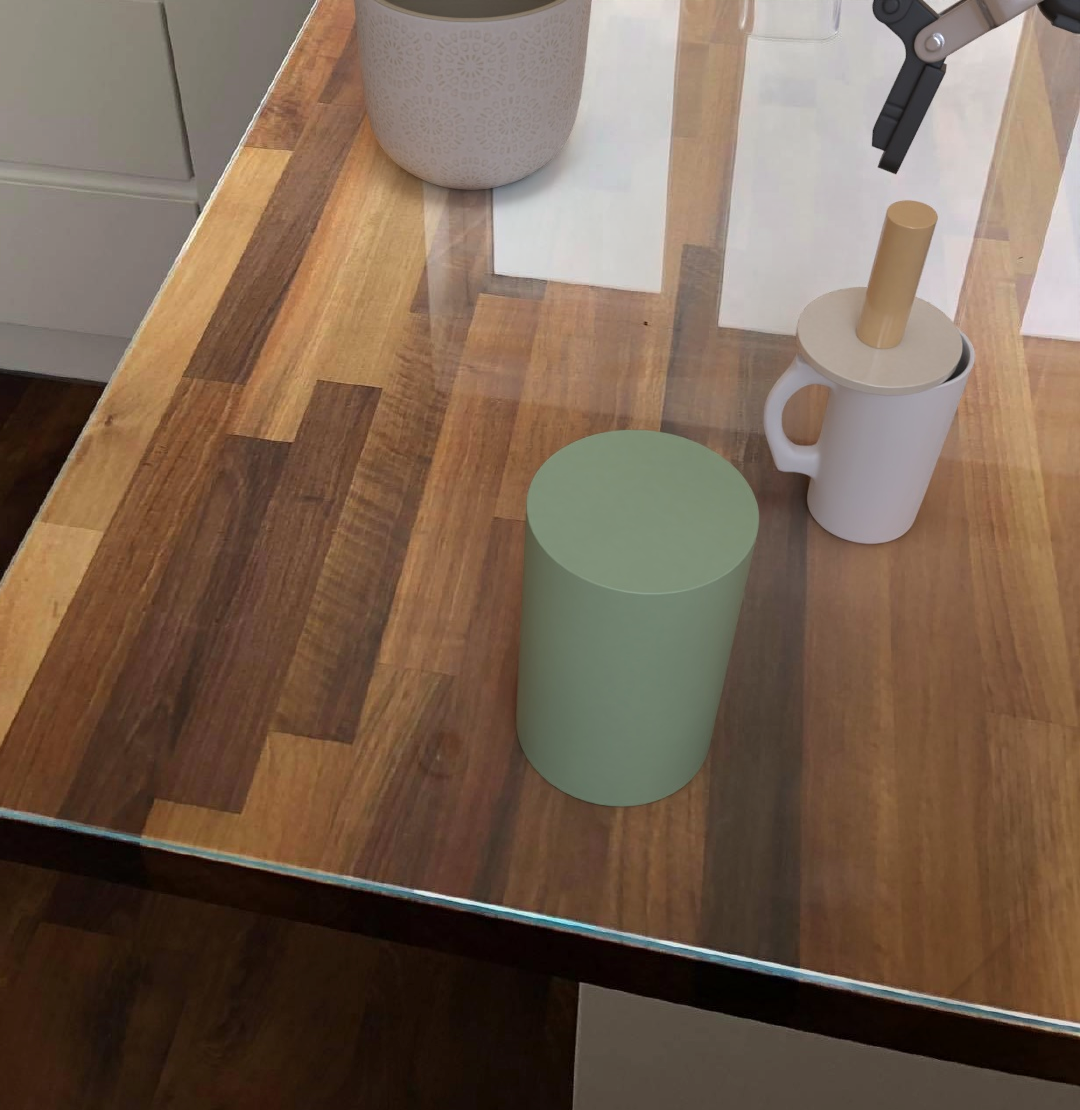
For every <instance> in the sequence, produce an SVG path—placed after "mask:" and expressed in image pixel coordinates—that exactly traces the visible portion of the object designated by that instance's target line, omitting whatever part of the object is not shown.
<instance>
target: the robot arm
mask: <svg viewBox="0 0 1080 1110" xmlns="http://www.w3.org/2000/svg"><path fill="white" fill-rule="evenodd" d="M871 6H872V7H871V9H872V14H873V17H875V19H876V20H877V21H878V22H879V23H881V24H884V25H885V26H886V27H887V28H888V29H889V30H890V31H891V32H892V33H894V34H895V35H896V36H897V37H898V38H899V39H900V40H901V42H902V44H903V46H904V50H905V58H904V60H903V63H902V65H901V67H900V68H899V71H898V74H897V76H896V78H895V80H894V82H893V84H892V86H891V89H890V90H889V93H888V95H887V97H886V99H885V101H884V103H883V105H882V108H881V110H880V112H879V114H878V117H877V119H876V121H875V122H874V126H873V128H872V133H871V137H872V138H871V147H873V148H876V149H878V150H880V151H883V152H882V154H881V156H880V159H879V162H878V165H877V168H878V169H880V170H883V171H886V172H889V173H891V174H893V175H897V174H898V172H899V170H900V168H901V166H902V164H903V162H904V160H905V158H906V156H907V154H908V152H909V150H910V148H911V145H912V144H913V142H914V139H915V137H916V135H917V133H918V131H919V129H920V127H921V125H922V122H923V120H924V118H925V116H926V115H927V113H928V111H929V109H930V106H931V104H932V102H933V100H934V98H935V96H936V94H937V92H938V89H939V88H940V85H941V84H942V81H943V79H944V78H945V75H946V74H947V66H948V64H947V63H945V62H946V59H947V58H948V57H949V56H950V55H952V54H953V53H956V52H957V51H958V50H960V49H962V48H963V47H965V46H967V45H969V44H970V43H972V42H974V41H976V40H977V39H979V38H980V37H982V36H984V35H985V34H987V33H988V32H990V31H993V30H995V29H997V28H999V27H1001V26H1004V24H1007V23H1008V22H1010V21H1012V20H1013V19H1015V18H1016V17H1018V16H1020V15H1021V14H1023V13H1025V12H1026V11H1028V10H1030V9H1031V8H1033V7H1034V6H1037V8H1038V10H1039V11H1040V13H1041V14H1042V16H1043V17H1044V19H1046V20H1047V21H1049V23H1050V25H1051V27H1056V28H1058V29H1060V30H1064V31H1067V32H1069V33H1072V34H1075V35H1080V0H958V1H956V2H955V3H952V4H951V5H949V6H948V7H946V8H945V9H943V10H942V11H940V12H937V11H935V9H934V8H932V7H931V6H930V4H928V3H927V2H926V1H924V0H872V4H871Z"/></svg>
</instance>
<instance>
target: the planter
mask: <svg viewBox="0 0 1080 1110" xmlns="http://www.w3.org/2000/svg"><path fill="white" fill-rule="evenodd" d="M592 3H593V0H353V7H354V16H355V28H356V36H357V38H356V39H357V51H358V60H359V69H360V71H359V72H360V80H361V86H362V87H361V88H362V94H363V101H364V105H365V109H366V114H367V117H368V122H369V126H370V129H371V131H372V133H373V135H374V138H375V139H376V142H377V144H378V145H379V146H380V148H381V149H382V150H383V152H384V153H385V154H386V155H387V157H388V158H390V159H391V160H392V161H393V162H394V163H395V165H398V166H399V167H400V168H401V169H403V170H404V171H405V172H407V173H409V174H410V175H412V176H414V177H416V178H418V179H420V180H422V181H424V182H427V183H430V184H433V185H435V186H439V187H442V188H449V189H454V190H467V191H468V190H470V191H472V190H473V191H476V190H486V189H487V190H488V189H493V188H494V189H495V188H499V187H502V186H507V185H509V184H512V183H515V182H517V181H520V180H522V179H524V178H526V177H529V176H530V175H532V174H533V173H535V172H536V171H538V170H539V169H541V168H543V167H544V166H545V165H546V164H547V163H549V161H551V160H552V159H554V157H555V156H557V154H558V153H559V152H560V151H561V150H562V148H563V146H564V145H565V144H566V142H567V140H568V139H569V138H570V135H571V133H572V131H573V128H574V126H575V122H576V120H577V117H578V113H579V107H580V103H581V98H582V93H583V85H584V77H585V70H586V62H587V54H588V44H589V43H588V41H589V32H590V31H589V30H590V24H591V23H590V22H591V13H592Z"/></svg>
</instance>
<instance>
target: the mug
mask: <svg viewBox="0 0 1080 1110" xmlns="http://www.w3.org/2000/svg"><path fill="white" fill-rule="evenodd" d="M956 327H957V329H958V331H959V333H960V336H961V338H962V345H963V348H962V355H961V358H960V361H959V364H958V366H957V368H956V370H955V372H954V373H953V374H952V375H951V376H950V377H949V378H948V379H947V380H946V381H944V382H943V383H941V384H940V385H938V386H936V387H934V388H931V389H929V390H926V391H923V392H919V393H914V394H909V395H876V394H870V393H864V392H860V391H856V390H853V389H850V388H847V387H844V386H841V385H839V384H837V383H835V382H833V381H831V380H829V379H827V378H825V377H824V376H822V375H821V374H820V373H818V372H817V371H816V370H815V369H813V368H812V367H811V366H810V365H809V364H808V363H807V362H806V360H805V359H804V358H803V356H802V355H801V353H800V352H798V353H796V354H795V356H794V357H793V360H792V362H791V364H790V365H789V366H788V367H787V368H786V369H785V371H783V373H782V374H781V375H780V377H779V378H778V379H777V381H776V382H775V383H774V385H773V386H772V387H771V389H770V391H769V393H768V394H767V397H766V398H765V403H764V405H763V406H764V407H763V412H762V423H763V431H764V435H765V438H766V441H767V443H768V444H767V445H768V447H769V450H770V453H771V456H772V460H773V463H774V465H775V467H776V469H777V470H778V471H780V472H784V473H799V474H803V475H806V476H808V477H809V478H810V480H809V485H808V490H807V494H806V503H807V507H808V510H809V513H810V514H811V516H812V518H813V519H814V520H815V522H817V524H818V525H819V526H820V527H821V528H823V529H824V530H825V531H827V532H828V533H830V534H831V535H834V536H835V537H838V538H840V539H843V540H846V541H848V542H853V543H857V544H864V545H865V544H866V545H875V544H876V545H877V544H884V543H887V542H888V543H889V542H892V541H894V540H896V539H898V538H900V537H902V536H904V535H905V534H906V533H907V532H908V531H910V530H911V528H912V526H913V524H914V522H915V521H916V518H917V516H918V513H919V510H920V508H921V506H922V503H923V501H924V499H925V495H926V493H927V492H928V491H927V490H928V488H929V485H930V483H931V479H932V476H933V474H934V472H935V468H936V466H937V463H938V461H939V459H940V458H939V457H940V455H941V453H942V450H943V447H944V445H945V442H946V439H947V437H948V434H949V431H950V429H951V427H952V424H953V421H954V418H955V415H956V413H957V410H958V407H959V405H960V402H961V399H962V397H963V394H964V391H965V389H966V385H967V383H968V380H969V376H970V373H971V371H972V369H973V367H974V364H975V360H976V351H975V347H974V345H973V343H972V341H971V340H970V339H969V337H968V336H967V335H966V333H965V332H964V331H962V330H961V329H960V328H959V327H958V326H956ZM812 385H821V386H825V387H827V388H829V389H830V390H829V394H828V398H827V403H826V408H825V413H824V417H823V421H822V426H821V429H820V434H819V437H818V440H817V441H816V443H814V444H810V445H799V444H795V443H794V442H792V441H791V440H790V439H789V438H788V437H787V435H786V433H785V432H784V429H783V412H784V410H785V406H786V404H787V402H788V401H789V400H790V398H791V397H792V396H793V395H794V394H795V393H797V391H799V390H801V389H802V388H804V387H807V386H812Z"/></svg>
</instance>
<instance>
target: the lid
mask: <svg viewBox="0 0 1080 1110" xmlns="http://www.w3.org/2000/svg"><path fill="white" fill-rule="evenodd" d="M938 219H939V216H938V213H937V211H936V210H935V209H934V208H933V207H932V206H930V205H928V204H927V203H925V202H921V201H916V200H911V199H909V200H899V201H896V202H893V203H892V204H890V205H889V206H888V207H887V209H886V212H885V216H884V219H883V224H882V226H881V232H880V235H879V239H878V243H877V246H876V250H875V255H874V258H873V263H872V267H871V270H870V275H869V278H868V282H867V285H866V286H856V287H855V286H854V287H853V286H852V287H846V288H841V289H837V290H833V291H830V292H826V293H825V294H823V295H820V296H818V297H817V298H815V299H813V300H812V301H810V302H809V304H807V305H806V307H804V309H803V310H802V312H801V313H800V315H799V317H798V320H797V325H796V328H795V342H796V346H797V349H798V351H799V353H801V355H802V356H803V358H804V359H805V360H806V362H807V363H808V364H809V365H810V366H811V367H812V368H813V369H815V370H816V371H817V372H818V373H820V374H821V375H822V376H824V377H825V378H827V379H829V380H831V381H833V382H835V383H837V384H839V385H841V386H844V387H847V388H850V389H853V390H856V391H860V392H864V393H870V394H876V395H909V394H914V393H919V392H923V391H926V390H929V389H931V388H934V387H936V386H938V385H940V384H941V383H943V382H944V381H946V380H947V379H948V378H949V377H950V376H951V375H952V374H953V373H954V372H955V370H956V368H957V366H958V364H959V361H960V358H961V355H962V348H963V345H962V338H961V336H960V333H959V331H958V329H957V327H958V326H957V325H956V324H955V323H954V321H953V320H952V319H951V318H950V317H949V316H948V315H947V314H946V313H945V312H943V311H942V310H941V309H940V308H938V307H937V306H935V305H934V304H932V303H930V302H928V301H926V300H925V299H922V298H920V297H918V296H916V295H917V292H918V289H919V285H920V282H921V278H922V275H923V272H924V268H925V264H926V260H927V257H928V254H929V250H930V248H931V244H932V240H933V237H934V233H935V230H936V226H937V222H938Z"/></svg>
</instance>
